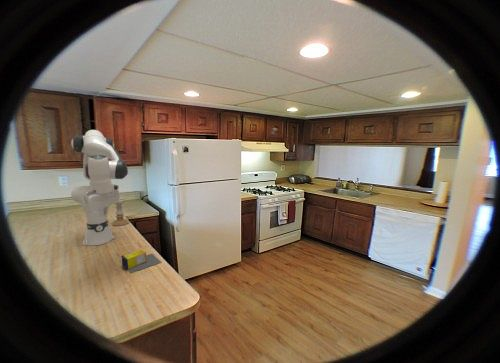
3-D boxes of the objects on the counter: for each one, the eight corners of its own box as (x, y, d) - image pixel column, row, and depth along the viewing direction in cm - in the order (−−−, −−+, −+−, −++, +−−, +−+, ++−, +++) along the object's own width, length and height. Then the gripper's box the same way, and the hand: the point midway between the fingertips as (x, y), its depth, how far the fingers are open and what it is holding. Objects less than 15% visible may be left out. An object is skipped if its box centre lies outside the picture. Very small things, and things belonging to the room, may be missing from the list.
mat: (123, 263, 126) (123, 262, 126) (152, 253, 137) (152, 253, 137) (130, 273, 116) (130, 272, 116) (161, 262, 127) (161, 262, 127)
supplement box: (121, 265, 122) (142, 258, 131) (126, 269, 118) (146, 261, 127) (121, 255, 121) (141, 248, 130) (125, 259, 118) (146, 252, 126)
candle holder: (114, 222, 192) (112, 199, 189) (130, 220, 196) (128, 198, 193) (110, 227, 181) (107, 203, 178) (127, 225, 185) (125, 201, 181)
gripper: (90, 193, 98) (94, 223, 100) (120, 185, 118) (122, 210, 120) (77, 192, 98) (80, 222, 101) (109, 184, 119) (111, 210, 121)
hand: (104, 216), depth 111 cm, fingers closed
